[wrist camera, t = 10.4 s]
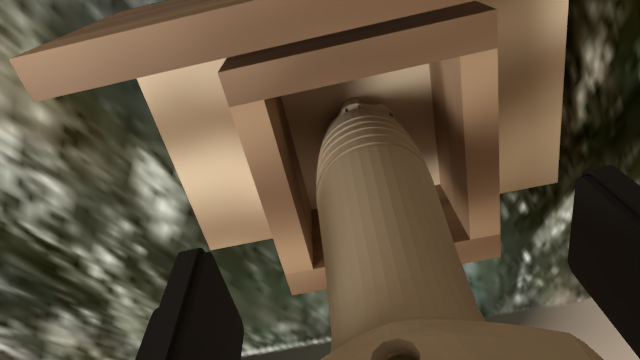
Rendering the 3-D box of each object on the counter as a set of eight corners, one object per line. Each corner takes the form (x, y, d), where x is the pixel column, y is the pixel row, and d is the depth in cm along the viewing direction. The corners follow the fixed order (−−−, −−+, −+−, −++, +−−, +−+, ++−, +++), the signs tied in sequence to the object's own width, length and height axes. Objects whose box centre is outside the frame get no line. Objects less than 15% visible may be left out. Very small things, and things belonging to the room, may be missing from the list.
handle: (440, 151, 21) (659, 531, 8) (312, 192, 22) (309, 589, 9) (414, 53, 18) (663, 354, 5) (273, 105, 19) (189, 462, 6)
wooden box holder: (120, 11, 18) (9, 58, 11) (558, -95, 17) (734, -115, 10) (214, 236, 24) (178, 359, 17) (545, 170, 23) (652, 275, 16)
